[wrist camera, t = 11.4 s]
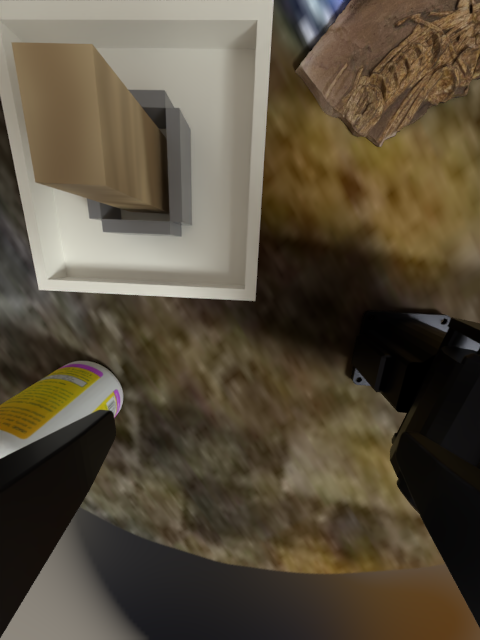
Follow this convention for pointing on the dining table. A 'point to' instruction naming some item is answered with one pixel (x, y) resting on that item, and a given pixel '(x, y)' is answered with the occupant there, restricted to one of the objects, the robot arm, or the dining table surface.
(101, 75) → the pine wood block
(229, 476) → the dining table surface
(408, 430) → the robot arm
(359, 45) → the wooden fragment
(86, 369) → the supplement bottle
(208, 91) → the ceramic dish
